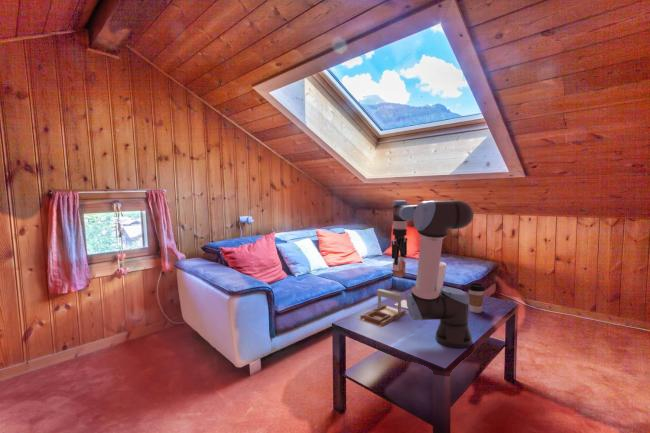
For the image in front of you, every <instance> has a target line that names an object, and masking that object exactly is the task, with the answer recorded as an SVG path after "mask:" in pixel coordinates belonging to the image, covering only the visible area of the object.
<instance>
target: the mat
mask: <svg viewBox="0 0 650 433" xmlns="http://www.w3.org/2000/svg"><path fill="white" fill-rule="evenodd" d="M394 305H395V307H398V302H396V303H393V306H394ZM401 309H404V310H405V309H406V310H408V307H407V302H406V299H402V300H401Z"/></svg>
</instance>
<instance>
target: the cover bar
mask: <svg viewBox="0 0 650 433" xmlns="http://www.w3.org/2000/svg"><path fill="white" fill-rule="evenodd" d="M376 296H377V308H378V307H379V308H380V307H381V306H382V298H386V299H389V300H393V301H396V302H397V303H398V306H397V309H398V313H401V310H402V307H401V301H402V300H403V293H399V292H395V291H391V290H387V289H382V288H379V289H377V290H376Z"/></svg>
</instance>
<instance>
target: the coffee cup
mask: <svg viewBox="0 0 650 433" xmlns="http://www.w3.org/2000/svg"><path fill="white" fill-rule="evenodd" d="M467 289H468V299H469V311H470V312H472V313H475V314H480V313H482V312H483V311H482V310H483V302H484V297H485V294H484V293H485V286H484V285H483V284H481V283H475V282H474V283H472V282H471V283H469V284H468V286H467Z"/></svg>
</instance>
